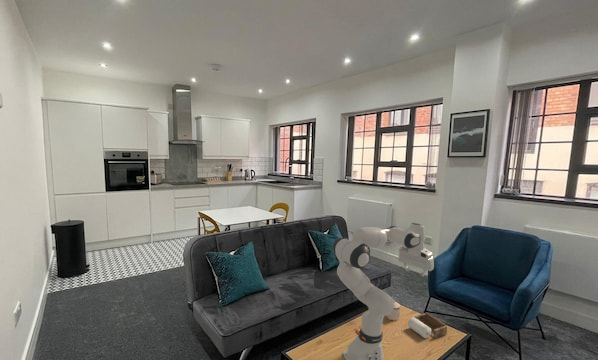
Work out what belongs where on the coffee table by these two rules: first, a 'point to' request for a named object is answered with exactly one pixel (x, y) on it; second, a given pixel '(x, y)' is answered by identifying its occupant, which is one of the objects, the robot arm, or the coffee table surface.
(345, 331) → the coffee table surface
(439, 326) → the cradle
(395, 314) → the teacup with lid
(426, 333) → the roll
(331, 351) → the coffee table surface
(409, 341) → the coffee table surface
